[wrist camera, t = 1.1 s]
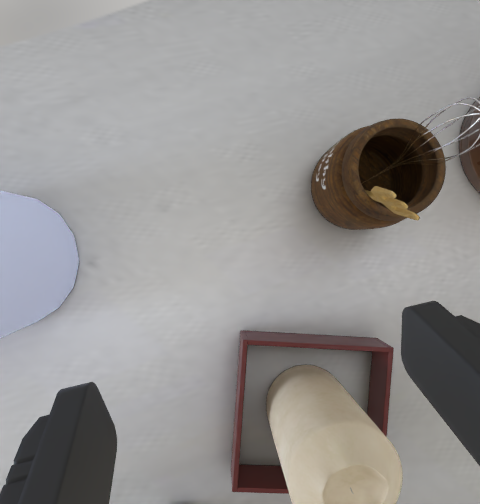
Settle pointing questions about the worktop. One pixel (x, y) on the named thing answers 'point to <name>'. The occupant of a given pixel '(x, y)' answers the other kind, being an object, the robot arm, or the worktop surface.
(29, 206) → the soap bottle
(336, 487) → the candle
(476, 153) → the candle stand
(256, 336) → the dark red square frame
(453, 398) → the robot arm
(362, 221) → the utensil holder
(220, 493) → the worktop surface
